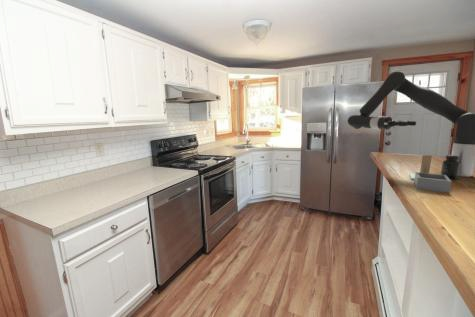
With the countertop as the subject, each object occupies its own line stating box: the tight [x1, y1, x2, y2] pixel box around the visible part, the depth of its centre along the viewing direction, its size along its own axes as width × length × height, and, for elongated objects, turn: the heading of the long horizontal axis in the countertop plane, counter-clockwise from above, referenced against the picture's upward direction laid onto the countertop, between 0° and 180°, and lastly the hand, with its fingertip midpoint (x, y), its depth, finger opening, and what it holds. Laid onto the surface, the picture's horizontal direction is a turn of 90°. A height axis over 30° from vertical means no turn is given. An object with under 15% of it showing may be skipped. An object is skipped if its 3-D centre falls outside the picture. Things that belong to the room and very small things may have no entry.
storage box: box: [413, 171, 452, 194], centre depth 103 cm, size 11×11×6 cm
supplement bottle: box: [439, 154, 460, 181], centre depth 119 cm, size 7×7×12 cm
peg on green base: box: [408, 154, 433, 181], centre depth 115 cm, size 11×11×13 cm
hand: (411, 123), depth 122 cm, fingers open, 8 cm apart
